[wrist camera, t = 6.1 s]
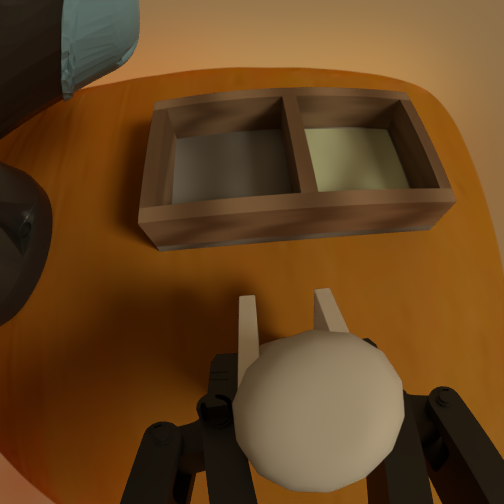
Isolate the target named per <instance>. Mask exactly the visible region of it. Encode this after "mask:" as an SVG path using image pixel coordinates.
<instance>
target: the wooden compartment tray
mask: <svg viewBox="0 0 504 504" xmlns="http://www.w3.org/2000/svg"><path fill="white" fill-rule="evenodd" d="M455 203H456V199H455V196H454V194H453V191H452V188H451V186H450V183H449V181H448V178H447V176H446V173H445V171H444V168H443V166H442V164H441V161H440V159H439V157H438V155H437V152H436V150H435V148H434V146H433V144H432V142H431V139H430V137H429V135H428V133H427V131H426V129H425V127H424V125H423V123H422V121H421V119H420V117H419V115H418V114H417V112H416V110H415V108H414V106H413V104H412V102H411V101H410V99H409V97H408V95H407V94H406V92H397V91H386V90H374V89H358V88H329V87H300V88H270V89H254V90H241V91H230V92H220V93H211V94H203V95H196V96H189V97H182V98H176V99H170V100H164V101H158V102H155V106H154V111H153V116H152V121H151V127H150V133H149V139H148V145H147V151H146V158H145V165H144V172H143V180H142V188H141V197H140V206H139V216H138V224H139V226H140V227H141V228H142V229H143V231H144V232H145V233H146V235H147V236H148V237H149V238H150V240H151V241H152V242H153V243H154V245H155V246H156V247H157V248H158V249H159V251H169V250H181V249H192V248H204V247H215V246H227V245H239V244H251V243H263V242H276V241H288V240H300V239H313V238H326V237H339V236H352V235H365V234H378V233H392V232H405V231H419V230H430V229H431V228H432V227H433V226H434V225H435V224H436V223H437V221H438V220H439V219H440V218H441V217H442V216H443V215H444V214H445V213H446V212H447V211H448V210H449V209H450V208H451V207H452V206H453V205H454V204H455Z"/></svg>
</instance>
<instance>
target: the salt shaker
mask: <svg viewBox="0 0 504 504" xmlns="http://www.w3.org/2000/svg"><path fill="white" fill-rule="evenodd" d="M259 350H260V356H259V357H258V358H257V359H256V360H255V361H254V362H253V363H252V364H251V365H250V366H249V367H248V368H247V369H246V371H245V374H244V376H243V378H242V381H241V383H240V386H239V388H238V391H237V393H236V396H235V398H234V400H233V403H232V407H233V416H234V425H235V434H236V440H237V442H238V444H239V446H240V448H241V449H242V451H243V452H244V454H245V455H246V457H247V458H248V460H249V461H250V462H251V464H252V465H253V467H254V468H255V470H256V471H257V473H258V474H259V475H261V476H263V477H265V478H267V479H269V480H270V481H272V482H274V483H276V484H278V485H281V486H283V487H285V488H287V489H289V490H291V491H301V492H332V491H334V490H337V489H339V488H342V487H344V486H347V485H349V484H351V483H354V482H356V481H358V480H361V479H363V478H365V477H366V476H367V475H368V474H369V473H370V472H371V471H372V470H374V469H375V468H376V467H377V466H378V465H379V464H380V463H381V462H382V461H383V459H384V458H385V457H386V456H387V455H388V454H389V453H390V452H391V451H392V450H393V447H394V444H395V442H396V439H397V436H398V434H399V431H400V428H401V425H402V422H403V419H404V416H405V415H404V401H403V388H402V381H401V379H400V378H399V376H398V374H397V373H396V371H395V370H394V368H393V367H392V365H391V364H390V362H389V360H388V359H387V357H386V356H385V354H384V353H383V352H382V351H380V350H379V349H377V348H375V347H374V346H372V345H370V344H369V343H367V342H365V341H364V340H362V339H360V338H359V337H357V336H356V335H354V334H352V333H347V332H332V331H318V330H309V331H306V332H303V333H300V334H297V335H294V336H291V337H284V338H280V339H277V340H274V341H271V342H268V343H264V344H262V345H261V346H260V347H259Z"/></svg>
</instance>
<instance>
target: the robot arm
mask: <svg viewBox="0 0 504 504" xmlns="http://www.w3.org/2000/svg"><path fill="white" fill-rule="evenodd" d="M139 30H140V11H139V0H0V140H1V139H2V138H3V137H5V136H6V135H7V134H9V133H10V132H12V131H13V130H15V129H16V128H18V127H19V126H20V125H22V124H23V123H25V122H26V121H28V120H30V119H31V118H33V117H34V116H36V115H37V114H39V113H41V112H42V111H44V110H46V109H47V108H49V107H51V106H52V105H54V104H56V103H57V102H59V101H61V100H64V101H67V100H69V99H71V98H72V97H73V95H74V93H75V92H76V91H78V90H79V89H81V88H83V87H84V86H86V85H88V84H90V83H92V82H93V81H95V80H97V79H99V78H101V77H102V76H105V75H107V74H108V73H111V72H113V71H115V70H116V69H118V68H119V67H121V66H122V65H123V64H125V63H126V62H127V61H128V59H129V58H130V57H131V56H132V54H133V52H134V50H135V48H136V46H137V43H138V38H139ZM51 235H52V209H51V204H50V201H49V198H48V196H47V194H46V192H45V191H44V189H43V188H42V187H41V186H40V185H39V184H38V183H37V182H36V181H35V180H34V179H33V178H32V177H31V176H30V175H28V174H27V173H26V172H24V171H22V170H19V169H17V168H14V167H12V166H9V165H7V164H5V163H2V162H0V326H1V325H3V324H4V323H6V322H7V321H9V320H10V319H11V318H12V317H14V316H15V315H16V314H17V313H18V311H19V310H20V309H21V308H22V307H23V305H24V304H25V303H26V301H27V300H28V298H29V297H30V295H31V293H32V292H33V290H34V288H35V286H36V284H37V282H38V280H39V278H40V275H41V273H42V270H43V268H44V265H45V262H46V259H47V255H48V251H49V247H50V242H51ZM313 330H318V331H332V332H347V333H349V331H348V328H347V326H346V324H345V322H344V319H343V317H342V315H341V313H340V310H339V308H338V306H337V304H336V302H335V299H334V297H333V295H332V293H331V291H330V288H325V289H315V290H314V326H313ZM362 340H364V341H365V342H367V343H369V344H370V345H372V346H374V347H375V348H377V346H376V344H375V343H373V342H372V341H371V340H370V339H368V338H365V339H362ZM377 349H378V348H377ZM259 356H260V350H259V336H258V324H257V313H256V302H255V295H249V296H239V342H238V353H233V354H217V355H216V356H215V358H214V359H213V361H212V362H211V368H210V377H209V387H208V394H206V395H205V396H203V397H202V398H201V399H200V400H199V401H198V403H197V407H196V410H197V413H198V415H199V418H200V419H198V420H197V421H195V422H193V423H190V424H187V425H183V426H179V427H177V426H176V425H174V424H173V423H170V422H157V423H154V424H152V425H151V426H150V427H148V428H147V430H146V431H145V433H144V435H143V438H142V441H141V444H140V447H139V449H138V452H137V455H136V458H135V461H134V464H133V467H132V470H131V472H130V475H129V478H128V481H127V484H126V487H125V490H124V493H123V496H122V499H121V502H120V504H190V501H191V496H192V491H193V486H194V482H195V477H196V473H198V472H202V471H206V478H207V486H208V494H209V502H210V504H258V503H257V499H256V494H255V490H254V486H253V481H252V477H251V472H250V467H249V463H248V458H247V457H246V455H245V454H244V452H243V451H242V449H241V448H240V446H239V444H238V442H237V440H236V434H235V425H234V416H233V407H232V403H233V400H234V398H235V396H236V393H237V391H238V388H239V386H240V383H241V381H242V378H243V376H244V374H245V371H246V369H247V368H248V367H249V366H250V365H251V364H252V363H253V362H254V361H255V360H256V359H257V358H258V357H259ZM403 401H404V415H405V416H404V419H403V422H402V425H401V428H400V431H399V434H398V436H397V439H396V442H395V444H394V447H393V450H392V451H391V452H390V453H389V454H388V455H387V456H386V457H385V458H384V459H383V461H382V462H381V463H380V464H379V465H378V466H377V467H376V468H375V469H374V470H372V471H371V472H370V473H369V474H368V475H367V476H366V479H367V492H368V504H433V499H432V493H431V488H430V482H429V478H430V480H431V482H432V484H433V486H434V488H435V490H436V492H437V494H438V496H439V498H440V500H441V502H442V504H504V460H503V458H502V457H501V455H500V454H499V452H498V451H497V449H496V448H495V446H494V445H493V443H492V442H491V440H490V439H489V437H488V436H487V434H486V433H485V431H484V430H483V428H482V427H481V425H480V424H479V423H478V421H477V420H476V418H475V417H474V415H473V414H472V413H471V411H470V410H469V408H468V407H467V406H466V404H465V403H464V401H463V400H462V399H461V397H460V396H459V395H458V393H457V392H456V391H455V390H454V389H451V388H449V387H443V386H441V387H437V388H435V389H433V390H432V391H431V393H430V394H429V396H423V395H410V394H407V393H406V391H404V390H403ZM428 476H429V477H428Z"/></svg>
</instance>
